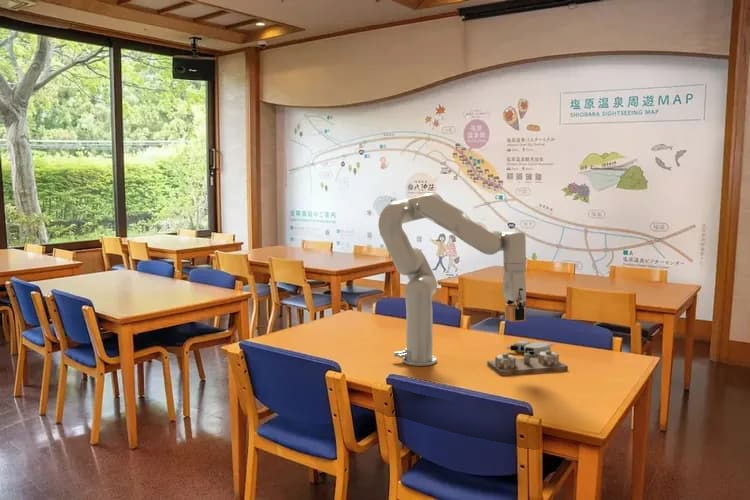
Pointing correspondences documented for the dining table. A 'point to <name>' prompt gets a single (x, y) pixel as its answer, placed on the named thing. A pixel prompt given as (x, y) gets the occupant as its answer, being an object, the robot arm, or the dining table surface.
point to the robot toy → (530, 347)
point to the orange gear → (511, 313)
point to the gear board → (527, 368)
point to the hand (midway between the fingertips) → (515, 317)
